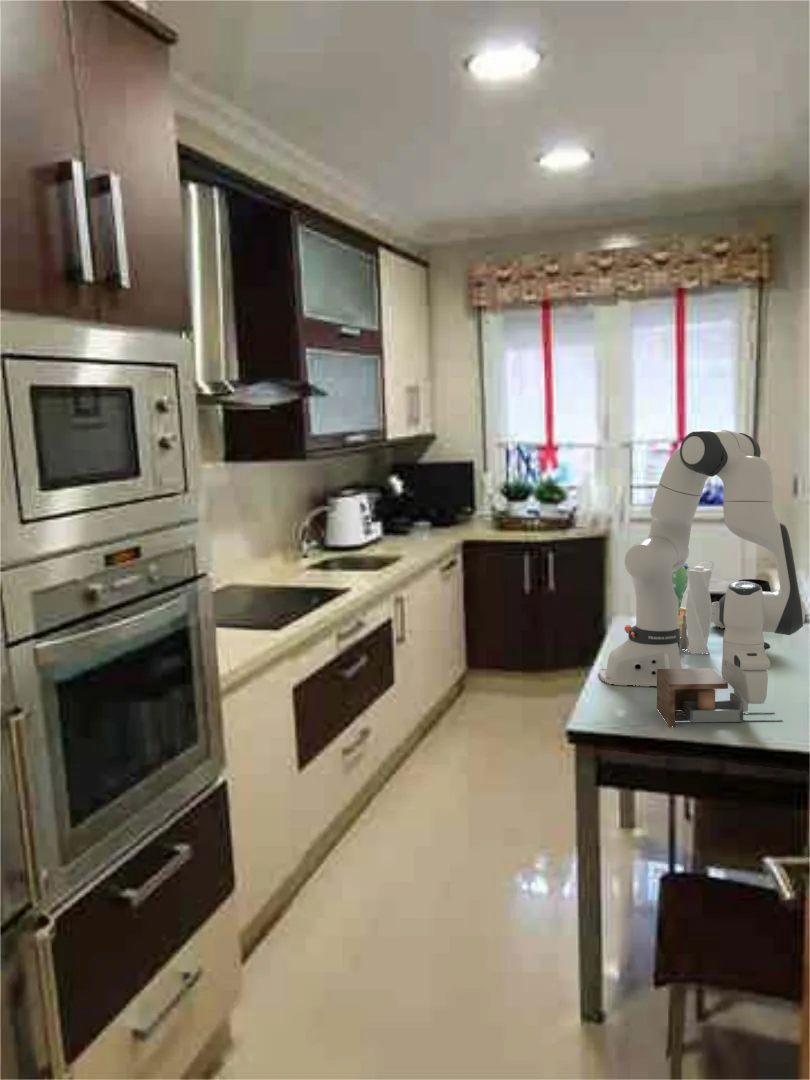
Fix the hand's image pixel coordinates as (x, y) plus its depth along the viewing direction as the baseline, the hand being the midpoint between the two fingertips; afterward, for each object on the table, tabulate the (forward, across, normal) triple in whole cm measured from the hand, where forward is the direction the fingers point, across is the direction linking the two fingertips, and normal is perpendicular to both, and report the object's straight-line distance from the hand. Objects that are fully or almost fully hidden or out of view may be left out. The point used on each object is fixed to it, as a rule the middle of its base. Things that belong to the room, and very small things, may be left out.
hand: (741, 709), depth 193 cm
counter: (+2, 0, -5) cm, 5 cm away
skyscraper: (+2, -57, +6) cm, 57 cm away
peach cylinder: (+1, 0, -8) cm, 8 cm away
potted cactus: (+2, -77, +3) cm, 77 cm away
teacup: (+2, -85, +23) cm, 88 cm away
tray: (+2, 0, -7) cm, 7 cm away
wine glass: (+2, -63, +24) cm, 67 cm away
